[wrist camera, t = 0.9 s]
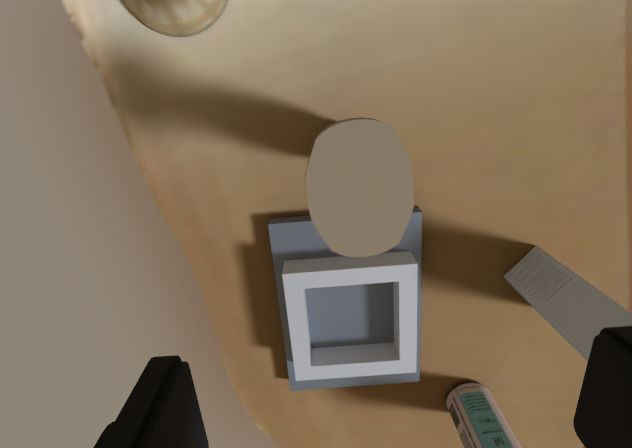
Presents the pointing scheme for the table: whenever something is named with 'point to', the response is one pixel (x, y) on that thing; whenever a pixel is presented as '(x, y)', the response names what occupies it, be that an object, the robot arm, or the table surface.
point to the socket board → (347, 308)
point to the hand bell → (177, 15)
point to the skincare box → (566, 299)
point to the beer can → (479, 418)
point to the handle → (359, 187)
